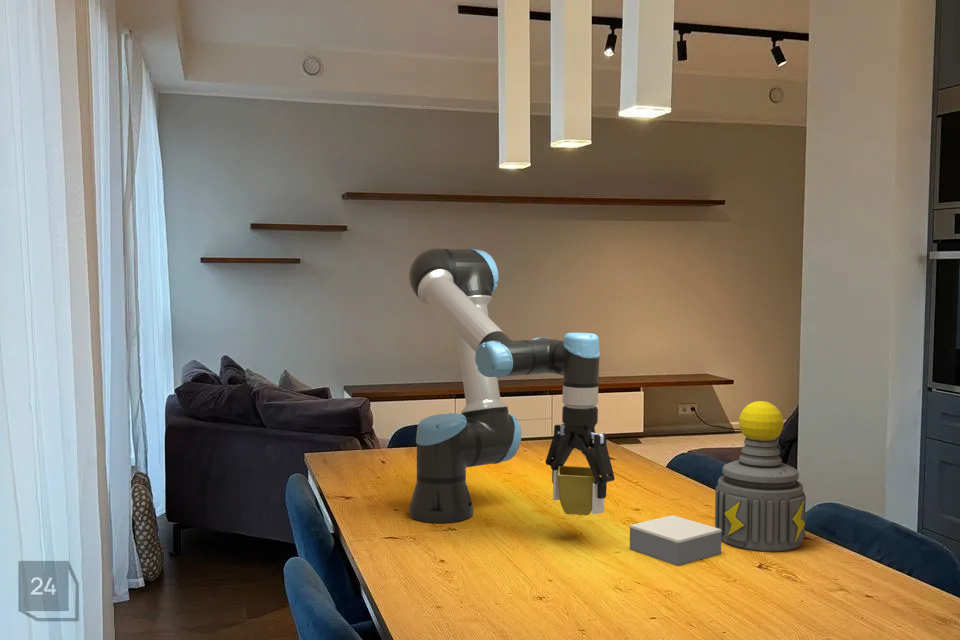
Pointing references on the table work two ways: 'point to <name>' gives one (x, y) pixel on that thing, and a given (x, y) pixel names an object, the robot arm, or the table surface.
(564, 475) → the flower pot
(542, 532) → the table surface
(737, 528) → the decorative lamp
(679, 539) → the plinth
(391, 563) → the table surface
